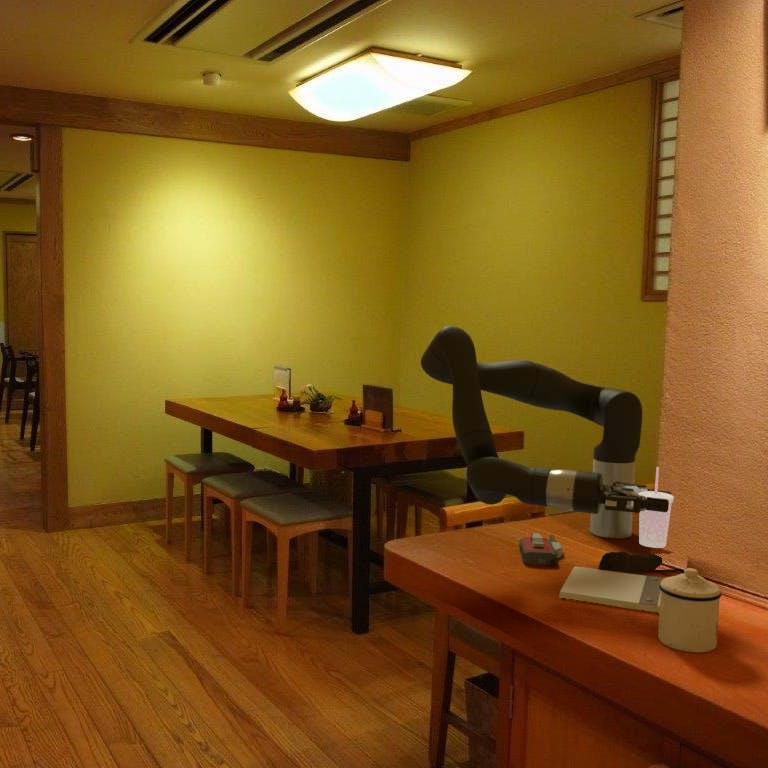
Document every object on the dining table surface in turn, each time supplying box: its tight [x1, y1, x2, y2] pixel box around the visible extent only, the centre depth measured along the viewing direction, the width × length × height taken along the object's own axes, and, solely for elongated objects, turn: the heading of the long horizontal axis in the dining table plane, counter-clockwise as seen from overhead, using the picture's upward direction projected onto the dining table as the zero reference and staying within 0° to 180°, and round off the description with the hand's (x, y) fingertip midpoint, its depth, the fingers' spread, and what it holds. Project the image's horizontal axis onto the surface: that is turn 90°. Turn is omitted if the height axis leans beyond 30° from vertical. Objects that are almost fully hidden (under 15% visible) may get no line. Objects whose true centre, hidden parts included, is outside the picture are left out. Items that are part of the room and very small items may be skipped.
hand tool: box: [598, 551, 662, 574], centre depth 165 cm, size 19×4×5 cm, turn 103°
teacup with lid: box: [657, 567, 722, 654], centre depth 131 cm, size 12×9×12 cm
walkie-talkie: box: [518, 532, 563, 566], centre depth 176 cm, size 9×4×20 cm
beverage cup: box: [638, 466, 675, 549], centre depth 149 cm, size 6×6×14 cm
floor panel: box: [559, 565, 666, 614], centre depth 152 cm, size 16×24×2 cm, turn 68°
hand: (669, 501), depth 148 cm, fingers closed on beverage cup, 6 cm apart
